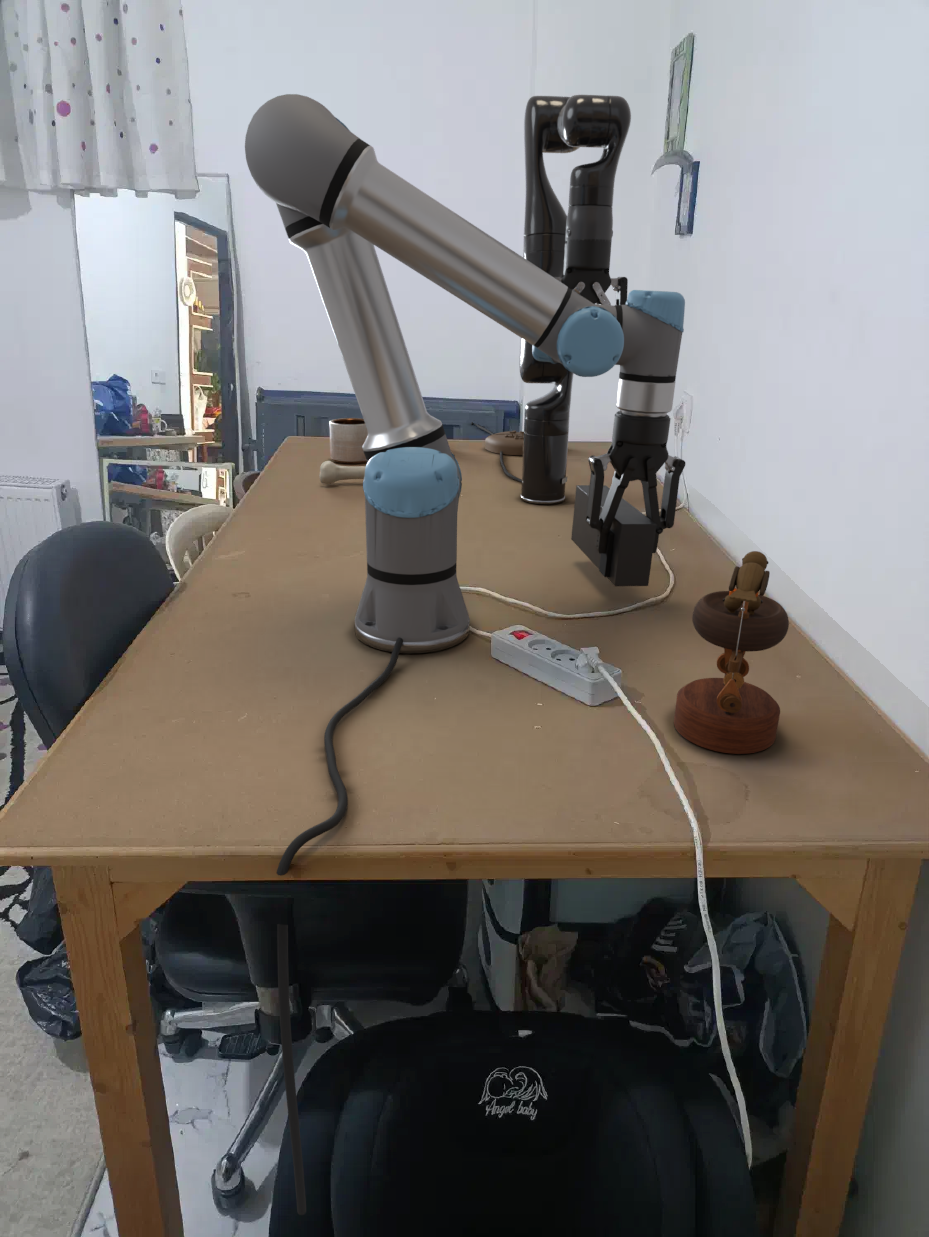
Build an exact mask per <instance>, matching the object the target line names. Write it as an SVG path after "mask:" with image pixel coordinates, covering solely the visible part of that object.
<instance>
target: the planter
mask: <svg viewBox="0 0 929 1237" xmlns="http://www.w3.org/2000/svg"><path fill="white" fill-rule="evenodd" d="M328 424H329V425H328V426H329V453H330V454H329V455H330V456H329V457H330V459H331V460H332V461H333V462H335V463H341V464H363V463H367V460H366V457H365V454H364V451H363V448H362V447H363V445H364V443H365V441H366V438H367V436H368V430H367V427H366V424H365V421H364V418H363V417H361V418H360V417H342V418H341V417H340V418H335V419H334V418H333V419H331V420H329V421H328Z"/></svg>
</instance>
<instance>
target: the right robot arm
mask: <svg viewBox="0 0 929 1237" xmlns="http://www.w3.org/2000/svg"><path fill="white" fill-rule="evenodd" d="M631 111H632V110H631V107H630V104H629V102H628V101H627V99H625V98H624V97H622V96H619V95H604V94H603V95H602V94H601V95H600V94H574V95H572V96H562V95H561V96H560V95H559V96H558V95H533V96H531V97H529V98H528V100H527V102H526V105H525V110H524V119H523V146H524V147H523V148H524V176H525V179H524V180H525V199H524V200H525V202H524V221H523V223H524V224H523V247H522V248H523V250H522V251H523V252H522V257H523V258H525V259H526V260H528V261H529V262H531V263H532V264H534V265H535V266H537V267H538V268H540V269H541V270H543V271H545V272H546V273H548V274H549V275H551V276H552V277H554V278H555V279H557V280H558V281H560V282H561V283H563V284H564V285H566V286H567V287H568V288H569V289H571V290H573V291H574V292H576V293H578V294H579V295H581V296H583V297H584V298H586V299H587V300H589V301H590V302H592V303H593V304H598V305H612V304H611V302H610V299H609V298H608V296H607V295H606V292H607V291H608V290H609V288H610V287H612V290H613V291H614V292H615V301H614V302H615V304H614V306H615V305H625V304H626V301H627V299H628V287H629V286H628V282H629V279H628V278H627V276H617V277H611V275H610V269H611V268H610V267H611V254H612V253H611V252H612V242H613V241H612V240H613V236H614V231H613V226H614V217H613V206H614V193H615V192H614V191H615V189H614V188H615V182H616V176H617V170H618V166H619V162H620V159H621V155H622V152H623V148H624V146H625V143H626V140H627V137H628V134H629V131H630V128H631V123H632V112H631ZM580 148H596V149H597V148H599V149H603V150H602V153H601V156H600V158H599V159H598V160H596V161H594V162H589V163H584V164H580V165H577V166H574V167H573V169H572V170H571V171H570V172H571V173H570V177H569V178H570V179H569V190H568V191H569V194H568V210H567V212H566V210H565V208H564V207H563V205H562V203H561V201H560V200H559V198H558V196H557V195H556V193H555V191H554V188H553V187H552V185H551V183H550V179H549V177H548V174H547V170H546V166H545V160H544V154H569V153H573V152H575V151H577V150H579V149H580ZM518 358H519V362H518V365H519V375H520V378H521V380H522V381H523V383H525V384H554V385H553V388H552V389H551V390H550V391H548V392H547V393H546V394H544V395H543V396H540V397H537V398H534V399H532V400H530V401H528V402H527V403H526V404H525V406H524V417H523V418H524V419H523V420H524V421H523V423H524V424H523V432H524V443H523V455H522V470H521V471H522V472H521V478H519V477H517V476H515V475H513V474H512V473H510V472H509V471H508V470H507V467H506V466H505V462H504V454H503V452H502V451H501V452H500V454H499V461H500V466H501V468H502V470H503V472H504V474H505V475H506V476H507V477H509V478H511V479H512V480H514V481H516V482H518V483H521V490H520V491H521V493H520V500H521V501H523V502H526V503H529V504H536V505H556V504H561V503H563V502H565V500H566V483H567V482H568V476H567V465H568V449H569V432H570V417H571V416H570V415H571V406H572V405H571V404H572V392H573V391H572V390H573V380H574V375H575V374H574V373H572V372H570V371H569V370H567V369H566V368H565V367H564V365H563V364H561V363H555V364H553V363H551V362H545V361H538V360H536V359H535V358H534V357H533V354H532V344H530V343H529V342H527V341H526V340H524V339H522V338H521V337H520V342H519V357H518ZM470 425H471V426H473V425H475V426H476V427H477V428H478V429H480V430H482V431H484V432H486V433H488V434H489V435H492V434H494V432H493V431H491V430H489V429H488V428H485V427H484V426H481V425H479V424H478V425H477V424H475V423H473V422H472V421H471V423H470Z"/></svg>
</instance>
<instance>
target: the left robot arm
mask: <svg viewBox="0 0 929 1237" xmlns="http://www.w3.org/2000/svg"><path fill="white" fill-rule="evenodd" d="M244 137H245V139H244V154H245V160H246V165H247V168H248V171H249V173H250V176H251V177H252V179H253V181H254V182H255V184H256V186H257V187H258V189H260V191H261V192H262V193H263V194H264V195H265V196H266V197H268V198H269V199H270V200H271V201H272V202H274V203H275V204H276V208H277V210H278V214H279V217H280V219H281V221H282V224H283V227H284V230H285V233H286V235H287V238H288V241H289V243H290V244H291V245H293V246H295V247H297V248H299V249H300V250H302V251H303V252H304V253H305V254H306V257H307V260H308V262H309V264H310V268H311V271H312V274H313V277H314V280H315V283H316V285H317V288H318V291H319V294H320V297H321V300H322V303H323V305H324V308H325V312H326V314H327V317H328V320H329V323H330V326H331V329H332V332H333V334H334V338H335V340H336V343H337V347H338V349H339V352H340V354H341V358H342V360H343V363H344V367H345V370H346V372H347V375H348V377H349V378H348V379H349V380H350V383H351V386H352V389H353V393H354V395H355V398H356V401H357V404H358V407H359V409H360V412H361V415H362V419H364V421H365V424H366V427H367V430H368V436H367V438H366V441H365V443H364V445H363V447H362V448H363V451H364V454H365V457H366V460H367V462H366V465H365V466H366V467H365V477H364V479H363V481H362V490H363V493H364V506H365V507H364V509H365V541H366V542H365V543H366V544H365V545H366V547H365V548H366V579H365V584H364V586H363V589H362V592H361V596H360V600H359V602H358V606H357V609H356V612H355V617H354V633H355V636H356V638H357V639H358V640H359V641H360V642H362V643H363V644H365V645H367V646H368V647H371V648H374V649H377V650H380V651H384V652H390V653H391V655H390V658H389V662H388V664H387V665H386V667H385V669H384V670H383V671H382V673H381V674H379V676H378V677H376V679H375V680H373V681H372V682H371V683H370V684H368V685H367V687H365V688H364V689H363V690H362V691H361V692H360V693H359V694H358V695H357V696H355V697H354V698H353V699H352V700H350V701H349V702H347V703H345V705H343V706H342V707H341V708H339V709H338V710H337V711H336V712H335V713H334V715H333V716H332V717H331V718H330V719H329V721H328V723H327V725H326V728H325V730H324V734H323V742H324V751H325V755H326V761H327V768H328V773H329V777H330V779H331V782H332V785H333V787H334V789H335V791H336V794H337V798H338V799H337V800H338V802H337V807H336V808H335V812H334V814H332V815H331V816H330V817H329V818H328V819H326V820H324V821H322V822H320V823H318V824H316V825H314V826H311V827H309V828H308V829H306V830H304V831H303V832H301V833H300V834H298V835H297V836H296V837H295V838H294V839H293V840H292V841H291V842H290V844H289V845H288V847H286V849H285V850H284V852H283V854H282V856H281V858H280V860H279V863H278V867H277V869H276V874H277V875H278V876H284V875H286V874H287V873H288V871H289V868H290V865H291V863H292V861H293V860H294V857H295V855H296V854H297V853H298V851H299V850H300V849H301V848H302V847H303V846H304V845H306V844H307V843H308V842H309V841H311V840H313V839H315V838H316V837H318V836H320V835H323V834H325V833H326V832H328V831H331V830H332V829H334V828H335V827H336V826H338V825H339V824H340V823H341V821H342V820H343V818H344V817H345V815H346V813H347V810H348V805H349V800H348V799H349V798H348V792H347V788H346V786H345V784H344V782H343V779H342V777H341V775H340V773H339V769H338V767H337V758H336V752H335V748H334V742H333V740H334V738H333V737H334V733H335V729H336V727H337V725H338V723H339V722H340V721H341V720H342V719H343V718H344V717H345V716H346V715H348V713H350V712H351V711H353V709H355V708H356V707H357V706H359V705H360V704H361V703H363V702H364V701H365V700H366V699H367V698H368V697H369V696H370V695H371V694H372V693H373V692H375V690H377V689H378V688H379V687H380V686H381V685H382V684H383V683H384V682H385V681H386V680H387V679H388V678H389V676H390V675H391V674H392V672H393V670H394V669H395V667H396V665H397V662H398V658H399V654H425V653H433V652H439V651H443V650H446V649H449V648H452V647H455V646H457V645H458V644H460V643H462V642H463V641H464V640H466V639H467V637H468V636H469V634H470V616H469V612H468V608H467V606H466V601H465V599H464V596H463V593H462V589H461V586H460V583H459V581H458V577H457V561H458V560H457V559H458V558H457V557H458V556H457V554H458V512H459V501H460V496H461V493H462V487H463V482H462V481H463V474H462V470H461V467H460V465H459V461H458V459H457V458H456V457H455V454H454V453H453V452H452V450H451V446H450V443H449V441H448V438H447V435H446V431H445V429H444V425H443V423H442V421H441V420H440V419H438V418H436V417H434V416H433V415H431V414H430V413H429V412H428V411H427V410H428V409H427V407H426V404H425V401H424V399H423V395H422V392H421V388H420V385H419V382H418V380H417V376H416V374H415V370H414V366H413V364H412V360H411V357H410V354H409V350H408V347H407V345H406V341H405V339H404V335H403V332H402V329H401V327H400V323H399V320H398V316H397V313H396V310H395V307H394V304H393V301H392V298H391V295H390V291H389V288H388V285H387V282H386V279H385V276H384V273H383V269H382V267H381V263H380V260H379V257H378V254H377V250H376V248H378V249H380V250H381V251H383V252H384V253H386V254H388V255H389V256H391V257H392V258H394V259H396V260H397V261H398V262H400V263H402V264H403V265H405V266H406V267H408V268H410V269H411V270H412V271H415V272H416V273H417V274H419V275H421V276H423V277H424V278H426V279H427V280H429V281H430V282H432V283H434V284H435V285H437V286H438V287H440V288H442V289H443V290H445V291H446V292H448V293H449V294H451V295H453V296H454V297H455V298H458V299H459V300H460V301H463V302H464V303H466V304H467V305H468V306H470V307H471V308H473V309H475V310H476V311H478V312H479V313H481V314H483V315H484V316H485V317H487V318H489V319H490V320H492V321H494V322H495V323H496V324H499V325H500V326H502V327H503V328H505V329H506V330H508V331H510V332H511V333H513V334H515V335H516V336H518V337H519V338H520V339H521V338H522V339H524V340H526V341H527V342H529V343H530V344H532V354H533V357H534V358H535V359H536V360H538V361H545V362H551V363H553V364H555V363H561V364H563V365H564V367H565V368H566V369H567V370H569V371H570V372H572V373H574V374H573V375H576V376H577V377H581V378H593V377H598V376H601V375H604V374H606V373H608V372H609V371H610V370H612V369H613V368H614V367H615V366H619V374H618V383H617V392H616V402H615V407H616V408H617V409H618V410H617V411H616V413H615V414H614V417H613V418H614V419H613V428H612V434H611V435H612V436H611V444H610V446H609V448H608V449H607V452H606V453H603V454H600V455H597V456H596V455H594V454H593V455H590V456H588V459H587V461H588V466H589V469H590V478H589V484H588V485H589V493H588V501H587V510H586V518H585V521H586V523H587V524H588V525H589V526H590V527H591V528H593V529H597V538H596V551H597V552H598V553H599V554H601V557H600V566H599V569H598V572H599V573H600V574H601V575H602V576H603V577H604V578H606V577H610V569H611V560H612V552H613V543H614V535H615V534H614V533H613V532H612V531H611V530H610V528H611V526H612V523H613V520H614V518H615V515H616V512H617V510H618V507H619V504H620V502H621V499H622V498H623V496H624V494H625V490H626V489H627V488H628V486H629V484H630V482H635V481H640V483H641V486H642V493H643V494H642V495H643V502H644V510H645V511H644V512H645V516H646V517H648V518H649V519H650V520H652V521H653V522H654V523H656V524H657V525H656V532H655V539H654V547H653V554H656V553H657V551H658V546H659V537H660V535H661V534H662V533H663V532H664V530H665V529H672V528H673V527H674V526H675V525H674V524H675V519H676V518H675V517H676V510H677V504H678V502H677V501H678V495H679V486H680V480H681V479H680V478H681V475H682V473H683V472H684V469H685V467H686V461H685V460H684V459H682V458H680V457H678V456H676V455H675V456H673V455H670V454H669V451H668V447H667V445H668V441H669V434H670V426H671V420H672V419H671V417H670V415H668V414H669V413H671V412H672V411H673V405H674V397H675V389H676V379H677V372H678V365H679V358H680V351H681V345H682V339H683V333H684V331H685V330H684V324H685V309H686V308H685V307H686V300H685V297H684V295H683V294H681V293H680V292H679V291H678V292H677V291H665V290H644V289H633V290H630V291H629V293H627V301H626V304H625V305H615V304H614V305H612V304H611V305H598V304H593V303H592V302H590V301H589V300H587V299H586V298H584V297H583V296H581V295H579V294H578V293H576V292H574V291H573V290H571V289H569V288H568V287H567V286H566V285H564V284H563V283H561V282H560V281H558V280H557V279H555V278H554V277H552V276H551V275H549V274H548V273H546V272H545V271H543V270H541V269H540V268H538V267H537V266H535V265H534V264H532V263H531V262H529V261H528V260H526V259H525V258H523V255H520V254H519V253H517V252H516V251H514V250H513V249H511V248H510V247H508V246H506V245H505V244H503V243H502V242H500V241H499V240H497V239H496V238H494V237H493V236H491V235H489V234H488V233H487V232H485V231H484V230H482V229H481V228H479V227H477V225H475V224H473V223H471V222H470V221H469V220H467V219H465V218H464V217H462V216H461V215H459V214H458V213H456V212H455V211H453V210H452V209H450V208H448V207H447V206H445V205H444V204H442V203H440V202H439V201H438V200H437V199H435V198H433V197H432V196H431V195H429V194H427V193H425V192H424V191H423V190H421V189H420V188H418V187H417V186H415V185H414V184H412V183H410V181H409V182H408V181H407V180H406V179H404V178H403V177H401V176H400V175H398V174H397V173H395V172H394V171H393V170H390V169H389V168H388V167H386V166H384V165H383V164H381V163H380V162H379V161H378V158H377V155H376V150H375V148H374V146H372V145H371V144H369V143H367V142H366V141H364V140H363V139H362V138H360V137H359V136H358V135H357V134H355V133H353V132H352V131H351V130H350V129H349V128H348V127H347V125H346V124H345V123H343V122H342V121H341V120H340V119H339V118H338V117H336V116H335V115H334V114H333V113H332V112H331V111H330V110H329V109H328V108H327V107H326V106H325V105H323V104H322V103H320V101H317V100H315V99H314V98H312V97H309V96H307V95H302V94H297V93H286V94H282V95H277V96H275V97H272V98H270V99H268V100H267V101H266V102H264V103H263V104H262V105H261V106H260V107H259V108H258V109H257V110H256V112H254V114H253V115H252V117H251V120H250V121H249V124H248V125H247V129H246V133H245V136H244ZM375 247H376V248H375ZM609 463H610V464H611V466H612V467H613V469H614V472H613V474H612V478H611V484H610V487H609V488H610V490H609V492H608V495H607V498H606V500H605V503H604V506H603V509H602V511H601V514H600V508H601V500H602V493H603V485H605V484H604V483H605V472H606V470H607V469H608V464H609ZM663 466H664V469H665V473H664V479H663V487H662V495H661V496H662V497H661V504H660V506H659V496H658V488H657V487H658V479H657V473H658V472H659V470H660V469H661V468H662V467H663ZM599 516H600V517H599ZM276 929H277V931H276V933H277V934H276V938H277V940H276V944H277V945H276V946H277V947H276V948H277V985H278V986H277V987H278V988H277V989H278V992H277V993H278V1008H279V1009H278V1010H279V1011H278V1012H279V1027H280V1041H281V1053H282V1064H283V1076H284V1077H283V1078H284V1087H285V1097H286V1106H287V1116H288V1117H287V1118H288V1125H289V1135H290V1144H291V1153H292V1154H291V1155H292V1162H293V1174H294V1184H295V1197H296V1199H295V1200H296V1210H297V1214H298V1216H304V1215H306V1213H307V1197H306V1184H305V1183H306V1182H305V1172H304V1161H303V1151H302V1150H303V1149H302V1140H301V1131H300V1130H301V1129H300V1121H299V1120H300V1119H299V1110H298V1097H297V1090H296V1087H297V1086H296V1077H295V1076H296V1075H295V1066H294V1055H293V1041H292V1040H293V1039H292V1026H291V1007H290V986H289V985H290V982H289V980H290V979H289V925H288V924H283V923H277V924H276Z"/></svg>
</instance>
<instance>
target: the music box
mask: <svg viewBox="0 0 929 1237" xmlns="http://www.w3.org/2000/svg"><path fill="white" fill-rule="evenodd" d="M741 561H742V562H741V566H735V567H734V569H733V572H732V575H731V578H730V582H729V585H728V590H719V591H714V592H710V593H707V594H706V595H704V596H702V597H701V598H700V599H699V600H698V601H697V602H696V604H695V606H694V607H693V610H692V616H691V618H692V624H693V627H694V629H695V630H696V633H697V634H698V635H699V636H700V637H701V638H702V639H703V640H705V641H706V642H708V643H710V644H712V645H714V646H717V647H719V648H721V649H723V650H724V651H723V653H721V654H720V655H719V656H718V657H717V659H716V667H717V669H718V671H719V672H721V673H722V674H724V675H723V677H706V678H704V677H703V678H699V679H695V680H692V681H691V682H689V683H687V684H686V685H684V686H682V687H681V688H679V690H678V691H677V694H676V700H675V709H674V716H673V725H674V728H675V729H676V731H677V732H678V734H680V735H681V736H682V737H683V738H684V739H686V740H687V741H689V742H690V743H692V744H694V745H696V746H698V747H700V748H701V747H702V748H704V749H707V750H710V751H715V752H720V753H725V754H735V755H741V754H742V755H743V754H744V755H745V754H754V753H759V752H762V751H765V750H767V749H768V748H770V747H771V746H772V745H773V744H775V741H776V739H777V738H776V737H777V732H778V728H779V727H778V726H779V722H780V716H781V707H780V704H779V703H778V702H777V701H776V699H775V698H774V697H773V696H772V695H771V694H769V692H767V691H766V690H764V689H763V688H761V687H759V686H756V685H754V684H751V683H749V682H747V681H745V678H744V677H746V676H747V675H748V673H749V671H750V665H749V662H748V661H747V660H746V659H745V654H746V653H747V652H760V651H765V650H769V649H771V648H774V647H775V646H777V645H779V644H780V643H781V642H782V641H783V640H784V638H785V637H786V636H787V634H788V631H789V627H790V619H789V615H788V613H787V611H786V609H785V607H783V605H782V604H780V603H779V602H778V601H776V600H775V599H772V598H771V597H767V596H765V594H766V591H767V589H768V588H767V587H768V585H769V584H768V583H769V580H770V571H769V570H766V569H767V567H768V565H769V563H770V562H769V561H768V558H767V556H766V555H765V554H764V553H763V552H761V551H758V550H752V551H750V552H747V553H746V554H745V555H744V556H743V557H742V559H741Z"/></svg>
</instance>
